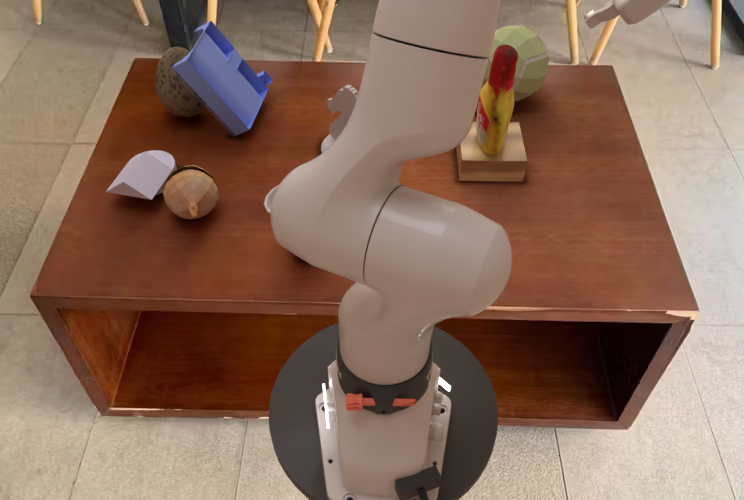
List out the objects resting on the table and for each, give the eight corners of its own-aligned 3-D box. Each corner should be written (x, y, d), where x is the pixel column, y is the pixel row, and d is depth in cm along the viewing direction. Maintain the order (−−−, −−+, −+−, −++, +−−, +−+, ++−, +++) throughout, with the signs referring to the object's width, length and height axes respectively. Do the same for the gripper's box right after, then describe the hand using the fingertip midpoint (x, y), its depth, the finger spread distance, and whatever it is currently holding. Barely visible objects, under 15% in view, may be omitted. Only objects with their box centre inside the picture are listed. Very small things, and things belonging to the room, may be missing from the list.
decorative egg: (217, 124, 140) (204, 59, 129) (163, 131, 138) (146, 66, 127) (213, 95, 147) (200, 31, 136) (162, 101, 145) (146, 37, 134)
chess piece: (342, 128, 139) (339, 64, 128) (380, 146, 135) (381, 81, 124) (310, 152, 133) (305, 87, 123) (349, 172, 129) (347, 106, 118)
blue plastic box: (249, 129, 134) (224, 140, 138) (273, 79, 144) (248, 90, 148) (186, 60, 124) (161, 73, 128) (217, 10, 134) (192, 24, 138)
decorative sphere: (535, 60, 129) (503, 122, 139) (573, 45, 138) (541, 104, 148) (477, 19, 134) (450, 82, 144) (518, 7, 143) (490, 67, 154)
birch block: (523, 181, 127) (527, 161, 124) (459, 180, 128) (462, 160, 124) (515, 142, 136) (519, 122, 132) (455, 141, 136) (457, 121, 132)
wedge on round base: (156, 213, 121) (186, 167, 130) (146, 185, 116) (178, 139, 125) (111, 205, 123) (143, 160, 131) (99, 177, 118) (134, 133, 127)
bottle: (506, 162, 123) (524, 66, 109) (472, 159, 124) (485, 63, 110) (507, 124, 132) (524, 29, 117) (474, 121, 132) (487, 26, 118)
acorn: (197, 146, 122) (191, 171, 108) (230, 185, 126) (227, 214, 112) (157, 175, 123) (145, 203, 109) (190, 213, 127) (182, 245, 113)
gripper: (636, -101, 101) (557, -37, 109) (674, -42, 87) (582, 27, 95) (656, -70, 105) (579, -10, 112) (697, -8, 91) (605, 56, 98)
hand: (580, 8), depth 103 cm, fingers open, 8 cm apart
